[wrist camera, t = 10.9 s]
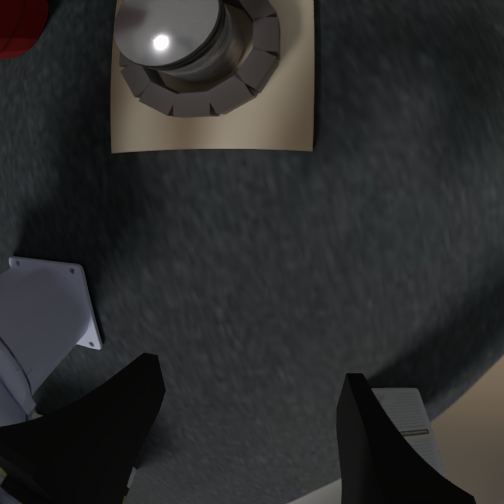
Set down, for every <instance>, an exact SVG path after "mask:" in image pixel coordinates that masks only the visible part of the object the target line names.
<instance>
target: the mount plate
mask: <svg viewBox="0 0 504 504" xmlns="http://www.w3.org/2000/svg"><path fill="white" fill-rule="evenodd" d="M123 1H124V0H117V5H116V14H115V19H116V15H117V13H118V10H119V8H120V6H121V4H122V3H123ZM223 3H224V5H225V7H226V8H227V10H228V11H229V13H230V14H231V16H232V18H233V19H234V21H235V22H236V24H237V26H238V27H239V29H240V30H241V32H242V35H243V38H244V52H243V55H242V58H241V60H240V62H239V64H238V65H237V67H236V68H235V69H234V70H233V71H232V72H231V73H230V74H228V75H227V76H226V77H224V78H222V79H220V80H218V81H215V82H212V83H206V84H196V83H191V82H188V81H185V80H183V79H180V78H178V77H175V76H172V75H170V74H167V73H164V72H161V71H159V70H153V69H150V68H147V67H144V66H140V65H137V64H135V63H133V62H131V61H129V60H128V59H127V58H125V57H124V56H123V55H122V53H121V52H120V51H119V49H118V47H117V45H116V41H115V37H114V34H113V48H112V65H111V150H112V153H122V152H135V151H151V150H172V149H218V148H230V149H276V150H297V151H313V124H314V3H313V0H223Z"/></svg>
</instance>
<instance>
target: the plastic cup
mask: <svg viewBox="0 0 504 504" xmlns="http://www.w3.org/2000/svg"><path fill="white" fill-rule="evenodd" d="M48 9H49V4H48V1H47V0H0V59H5V58H12V57H16V56H19V55H22V54H23V53H25V52H26V51H28V50H29V49H30V48H31V47H32V45H33V44H34V43H35V42H36V41H37V39H38V38H39V36H40V34H41V32H42V30H43V29H44V27H45V23H46V20H47V17H48Z"/></svg>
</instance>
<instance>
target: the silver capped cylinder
mask: <svg viewBox="0 0 504 504" xmlns="http://www.w3.org/2000/svg"><path fill="white" fill-rule="evenodd" d="M114 37H115V41H116V45H117V47H118V49H119V51H120V52H121V53H122V55H123V56H124V57H125V58H127V59H128V60H129V61H131V62H133V63H135V64H137V65H140V66H144V67H147V68H150V69H153V70H159V71H161V72H164V73H167V74H170V75H172V76H175V77H178V78H180V79H183V80H185V81H188V82H191V83H196V84H206V83H212V82H215V81H218V80H220V79H222V78H224V77H226V76H227V75H228V74H230V73H231V72H232V71H233V70H234V69H235V68H236V67H237V65H238V64H239V62H240V60H241V58H242V55H243V52H244V38H243V35H242V32H241V30H240V29H239V27H238V26H237V24H236V22H235V21H234V19H233V18H232V16H231V14H230V13H229V11H228V10H227V8H226V7H225V5H224V3H223V0H124V1H123V3H122V4H121V6H120V8H119V10H118V13H117V15H116V19H115V23H114Z"/></svg>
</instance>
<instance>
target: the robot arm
mask: <svg viewBox="0 0 504 504" xmlns="http://www.w3.org/2000/svg"><path fill="white" fill-rule="evenodd" d="M9 263H10V267H11V268H10V269H9V270H7V271H5V272H4V273H2V274H1V275H0V467H1V468H2V469H3V470H4V472H5V473H6V474H7V476H6V477H5V479H4V478H3V477H2V476H1V475H0V504H122V503H123V499H124V495H125V492H126V488H127V485H128V481H129V478H130V475H131V472H132V469H133V466H134V463H135V460H136V458H137V456H138V453H139V451H140V449H141V447H142V445H143V443H144V441H145V439H146V437H147V435H148V433H149V431H150V429H151V427H152V425H153V423H154V421H155V419H156V416H157V414H158V412H159V410H160V407H161V404H162V401H163V398H164V394H165V391H166V390H165V386H164V381H163V377H162V373H161V369H160V364H159V360H158V355H153V354H148V353H143V354H142V355H140V356H139V357H138V358H136V359H135V360H134V361H132V362H131V363H130V364H129V365H127V366H126V367H125V368H123V369H122V370H121V371H120V372H118V373H117V374H116V375H114V376H113V377H112V378H110V379H109V380H108V381H106V382H105V383H103V384H102V385H100V386H99V387H97V388H96V389H94V390H93V391H91V392H90V393H89V394H87V395H85V396H84V397H82V398H80V399H79V400H77V401H75V402H73V403H71V404H69V405H67V406H65V407H63V408H61V409H59V410H56V411H54V412H52V413H49V414H47V415H44V416H41V417H38V418H36V419H32V417H31V415H30V414H29V413H30V412H31V411H32V410H33V408H34V407H35V406H36V404H35V402H34V401H33V399H32V397H31V396H32V395H33V394H34V393H35V391H36V390H37V389H38V388H39V387H40V385H41V384H42V383H43V382H44V381H45V379H46V378H47V377H48V376H49V375H50V373H51V372H52V371H53V370H54V369H55V368H56V366H57V365H58V364H59V363H60V362H61V361H62V360H63V358H64V357H65V356H66V355H67V354H68V353H69V352H70V350H71V349H72V348H73V347H74V346H75V345H76V344H79V345H82V346H86V347H90V348H94V349H98V350H100V349H101V348H102V346H103V344H102V341H101V337H100V334H99V330H98V327H97V323H96V319H95V316H94V312H93V308H92V304H91V300H90V296H89V291H88V287H87V282H86V278H85V273H84V269H83V267H82V266H81V265H79V264H74V263H65V262H57V261H48V260H40V259H32V258H24V257H16V256H12V257H10V258H9ZM73 270H74V271H73ZM337 440H338V449H339V459H340V468H341V479H342V499H341V504H476V502H475V499H474V497H473V496H472V495H470V494H469V493H467V492H465V491H464V490H462V489H460V488H459V487H457V486H456V485H454V484H453V483H451V482H450V481H448V480H447V479H446V478H445V477H443V476H442V475H441V474H440V473H438V472H437V471H436V470H435V469H434V468H433V467H432V466H430V465H429V464H428V463H427V462H426V461H425V460H424V459H423V458H422V457H421V456H420V455H419V454H418V453H417V452H416V451H415V450H414V449H413V448H412V446H411V445H410V444H409V443H408V442H407V441H406V439H405V438H404V437H403V436H402V434H401V433H400V432H399V430H398V429H397V428H396V426H395V425H394V424H393V422H392V421H391V419H390V418H389V416H388V415H387V413H386V412H385V410H384V409H383V407H382V406H381V404H380V403H379V401H378V399H377V398H376V396H375V394H374V393H373V391H372V389H371V387H370V386H369V384H368V382H367V380H366V378H365V376H364V375H363V374H362V373H346V377H345V380H344V384H343V388H342V391H341V395H340V398H339V402H338V405H337Z"/></svg>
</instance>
